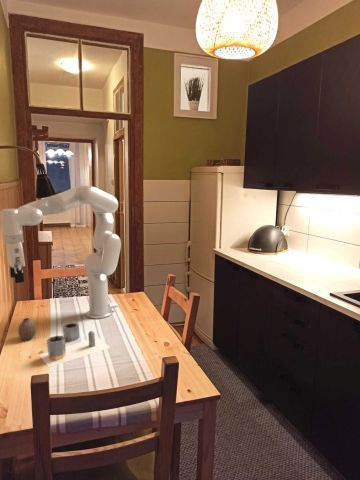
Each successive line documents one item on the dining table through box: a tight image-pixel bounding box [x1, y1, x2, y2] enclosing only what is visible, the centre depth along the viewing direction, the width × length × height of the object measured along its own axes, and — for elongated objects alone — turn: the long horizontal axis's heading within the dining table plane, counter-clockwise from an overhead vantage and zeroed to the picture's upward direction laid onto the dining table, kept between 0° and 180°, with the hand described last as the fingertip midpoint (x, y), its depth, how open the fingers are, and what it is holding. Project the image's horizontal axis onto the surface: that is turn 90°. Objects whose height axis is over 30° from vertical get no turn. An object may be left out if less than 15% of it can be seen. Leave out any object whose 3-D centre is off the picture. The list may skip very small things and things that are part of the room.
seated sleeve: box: [46, 335, 66, 361], centre depth 131 cm, size 6×6×7 cm
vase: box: [17, 317, 37, 341], centre depth 150 cm, size 7×7×9 cm
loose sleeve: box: [62, 322, 80, 342], centre depth 147 cm, size 6×6×7 cm
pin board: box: [38, 330, 111, 368], centre depth 135 cm, size 24×12×8 cm, turn 127°
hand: (17, 279), depth 145 cm, fingers open, 9 cm apart
